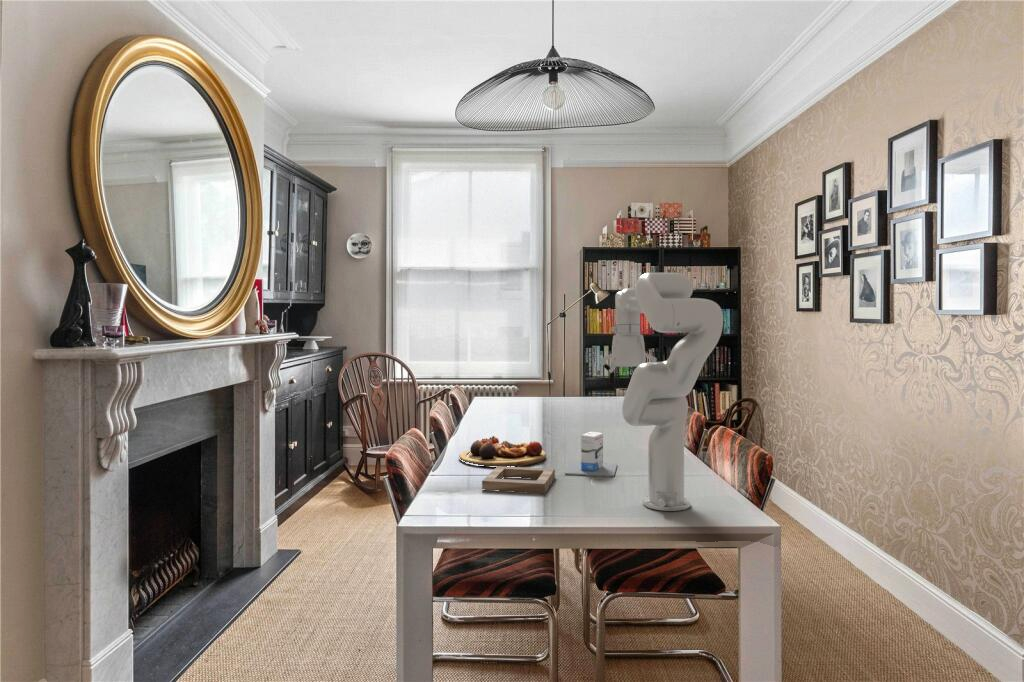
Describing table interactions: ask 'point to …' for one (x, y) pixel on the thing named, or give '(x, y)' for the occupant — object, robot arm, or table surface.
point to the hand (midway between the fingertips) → (629, 385)
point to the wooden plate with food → (503, 453)
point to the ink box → (591, 451)
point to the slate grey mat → (606, 471)
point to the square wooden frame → (539, 486)
